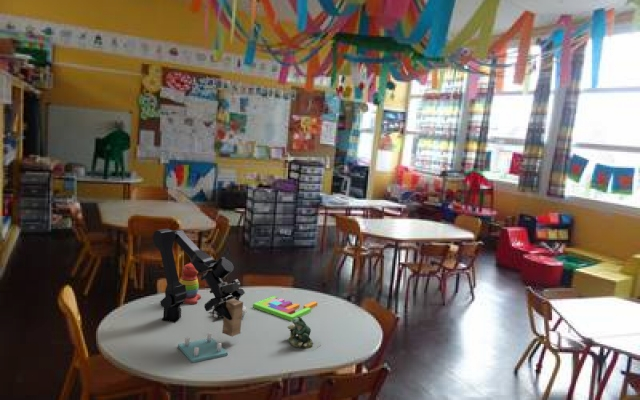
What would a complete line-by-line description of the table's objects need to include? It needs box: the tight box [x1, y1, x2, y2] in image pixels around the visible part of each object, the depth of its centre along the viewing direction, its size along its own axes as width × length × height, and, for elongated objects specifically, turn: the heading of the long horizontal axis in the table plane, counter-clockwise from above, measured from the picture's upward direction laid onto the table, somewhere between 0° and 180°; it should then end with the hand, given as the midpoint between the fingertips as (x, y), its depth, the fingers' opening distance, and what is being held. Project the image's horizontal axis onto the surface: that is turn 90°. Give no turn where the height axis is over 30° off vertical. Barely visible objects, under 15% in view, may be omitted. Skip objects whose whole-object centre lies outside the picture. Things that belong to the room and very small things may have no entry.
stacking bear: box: [179, 262, 202, 305], centre depth 241 cm, size 11×10×18 cm
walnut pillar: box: [222, 299, 244, 337], centre depth 201 cm, size 5×5×13 cm
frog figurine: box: [287, 316, 322, 352], centre depth 207 cm, size 18×18×12 cm
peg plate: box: [177, 333, 229, 364], centre depth 192 cm, size 14×14×4 cm
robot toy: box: [211, 304, 247, 318], centre depth 228 cm, size 12×4×15 cm
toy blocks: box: [252, 295, 319, 322], centre depth 245 cm, size 23×2×25 cm
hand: (235, 317), depth 200 cm, fingers closed on walnut pillar, 5 cm apart
